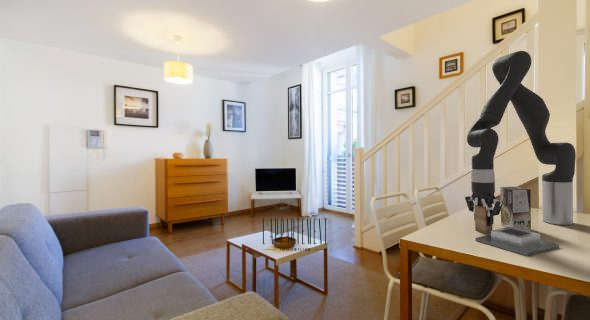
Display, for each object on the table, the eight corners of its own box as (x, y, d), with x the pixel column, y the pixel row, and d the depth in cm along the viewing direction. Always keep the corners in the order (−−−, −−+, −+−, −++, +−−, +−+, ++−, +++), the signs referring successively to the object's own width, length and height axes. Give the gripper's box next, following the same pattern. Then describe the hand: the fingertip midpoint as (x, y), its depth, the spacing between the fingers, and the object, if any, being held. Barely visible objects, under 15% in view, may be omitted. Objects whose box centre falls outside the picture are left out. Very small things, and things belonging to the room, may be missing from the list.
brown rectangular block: (482, 229, 110) (481, 204, 110) (492, 231, 106) (492, 206, 106) (475, 230, 108) (474, 205, 108) (485, 233, 105) (485, 207, 104)
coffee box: (532, 231, 104) (531, 189, 104) (512, 231, 106) (512, 189, 105) (517, 225, 113) (517, 186, 113) (500, 224, 115) (499, 186, 114)
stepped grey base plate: (505, 234, 103) (505, 223, 103) (558, 247, 88) (558, 235, 88) (475, 240, 97) (475, 229, 97) (527, 256, 82) (527, 243, 82)
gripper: (508, 181, 101) (509, 227, 102) (472, 178, 115) (472, 219, 115) (495, 183, 99) (496, 230, 99) (459, 179, 112) (460, 221, 113)
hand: (483, 224), depth 107 cm, fingers closed on brown rectangular block, 4 cm apart
